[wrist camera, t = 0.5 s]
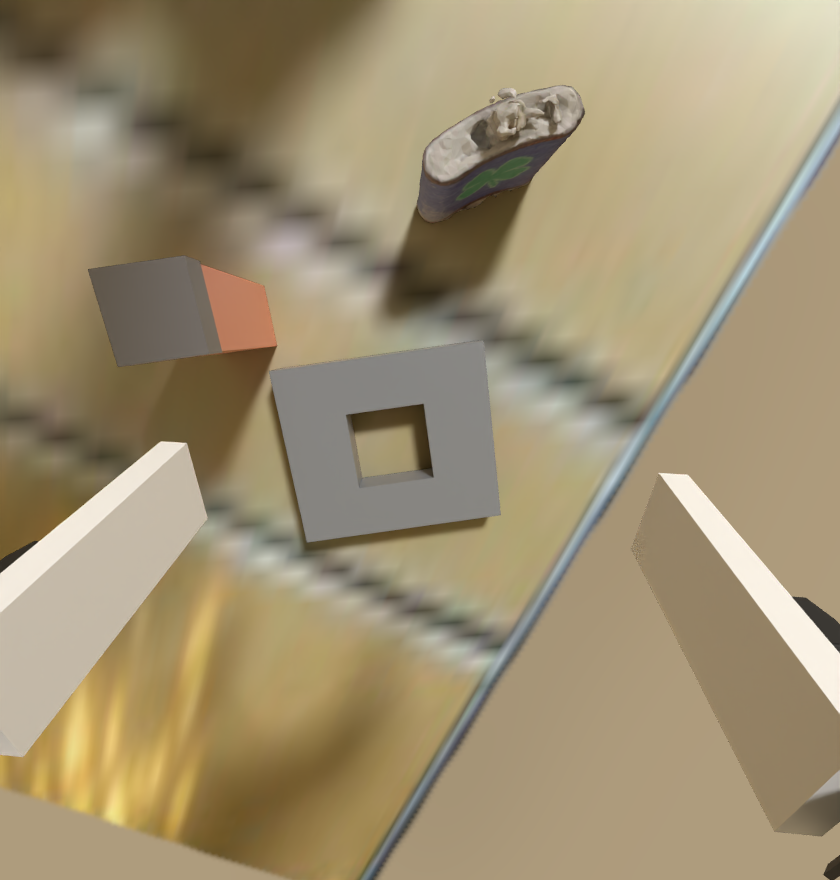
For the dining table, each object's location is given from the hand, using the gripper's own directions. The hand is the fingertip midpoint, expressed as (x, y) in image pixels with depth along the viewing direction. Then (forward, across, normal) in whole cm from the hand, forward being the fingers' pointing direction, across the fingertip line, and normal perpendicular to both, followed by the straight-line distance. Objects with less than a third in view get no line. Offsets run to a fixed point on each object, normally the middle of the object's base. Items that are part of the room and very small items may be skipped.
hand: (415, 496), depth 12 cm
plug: (+22, -15, -1) cm, 27 cm away
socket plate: (+21, -3, -10) cm, 23 cm away
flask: (+27, +2, +8) cm, 28 cm away
